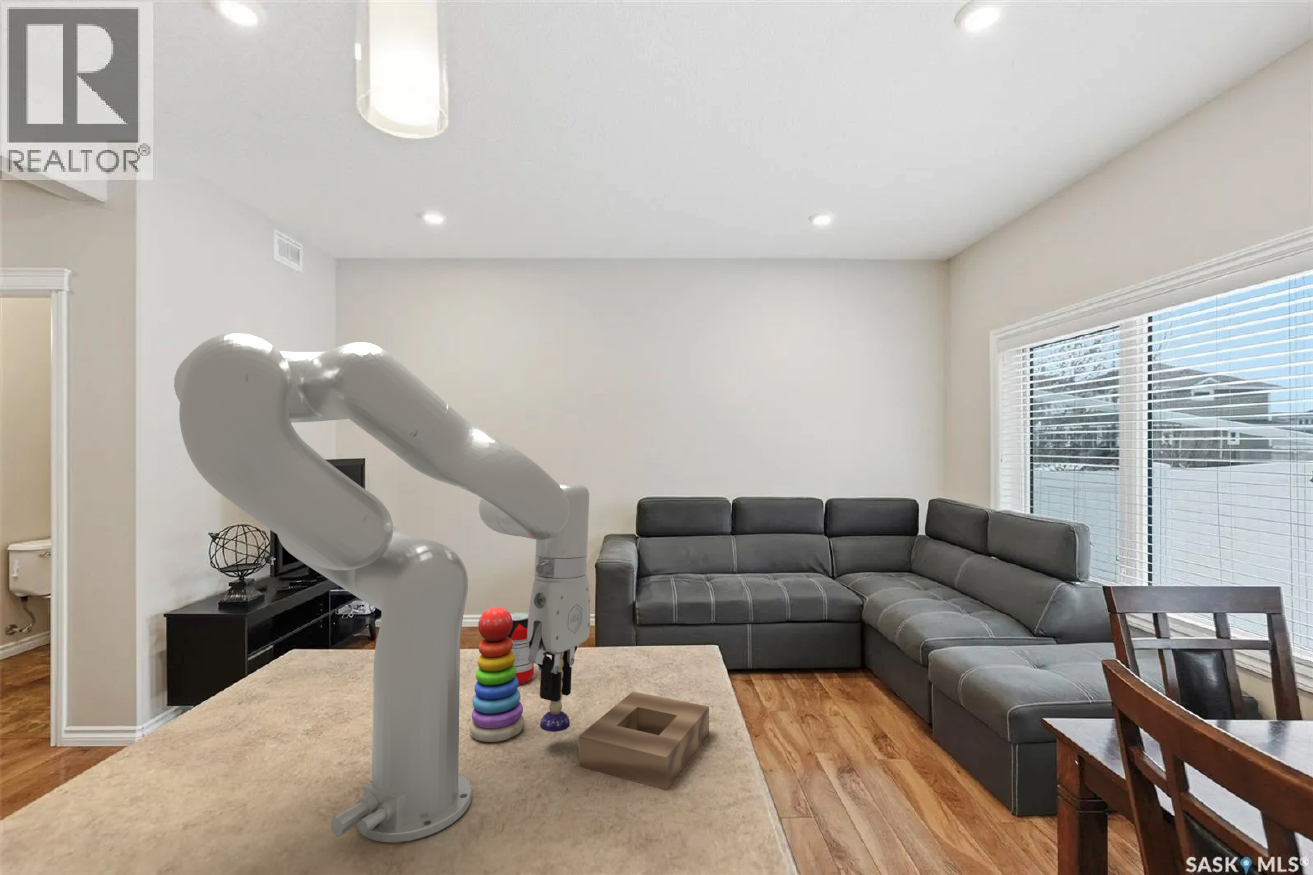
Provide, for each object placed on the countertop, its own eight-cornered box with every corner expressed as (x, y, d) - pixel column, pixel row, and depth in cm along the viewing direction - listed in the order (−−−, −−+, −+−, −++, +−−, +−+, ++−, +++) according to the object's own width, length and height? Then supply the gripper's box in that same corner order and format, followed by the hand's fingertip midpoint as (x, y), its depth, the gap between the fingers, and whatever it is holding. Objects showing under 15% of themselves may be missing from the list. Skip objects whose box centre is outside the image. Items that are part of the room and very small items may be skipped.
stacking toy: (490, 716, 91) (492, 599, 92) (534, 724, 88) (535, 603, 89) (458, 739, 83) (460, 611, 84) (504, 748, 81) (505, 616, 81)
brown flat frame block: (666, 789, 71) (666, 757, 71) (578, 766, 76) (578, 735, 76) (709, 733, 85) (708, 706, 85) (632, 716, 91) (632, 691, 91)
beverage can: (532, 672, 109) (533, 610, 110) (534, 685, 103) (535, 619, 104) (498, 675, 108) (499, 612, 108) (498, 689, 102) (499, 621, 102)
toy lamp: (561, 735, 78) (568, 612, 80) (530, 731, 79) (537, 609, 81) (573, 721, 83) (580, 606, 84) (544, 717, 84) (550, 603, 85)
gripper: (550, 578, 74) (543, 723, 73) (609, 563, 88) (605, 683, 87) (504, 572, 77) (498, 711, 76) (569, 558, 92) (564, 675, 90)
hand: (555, 695), depth 82 cm, fingers closed on toy lamp
